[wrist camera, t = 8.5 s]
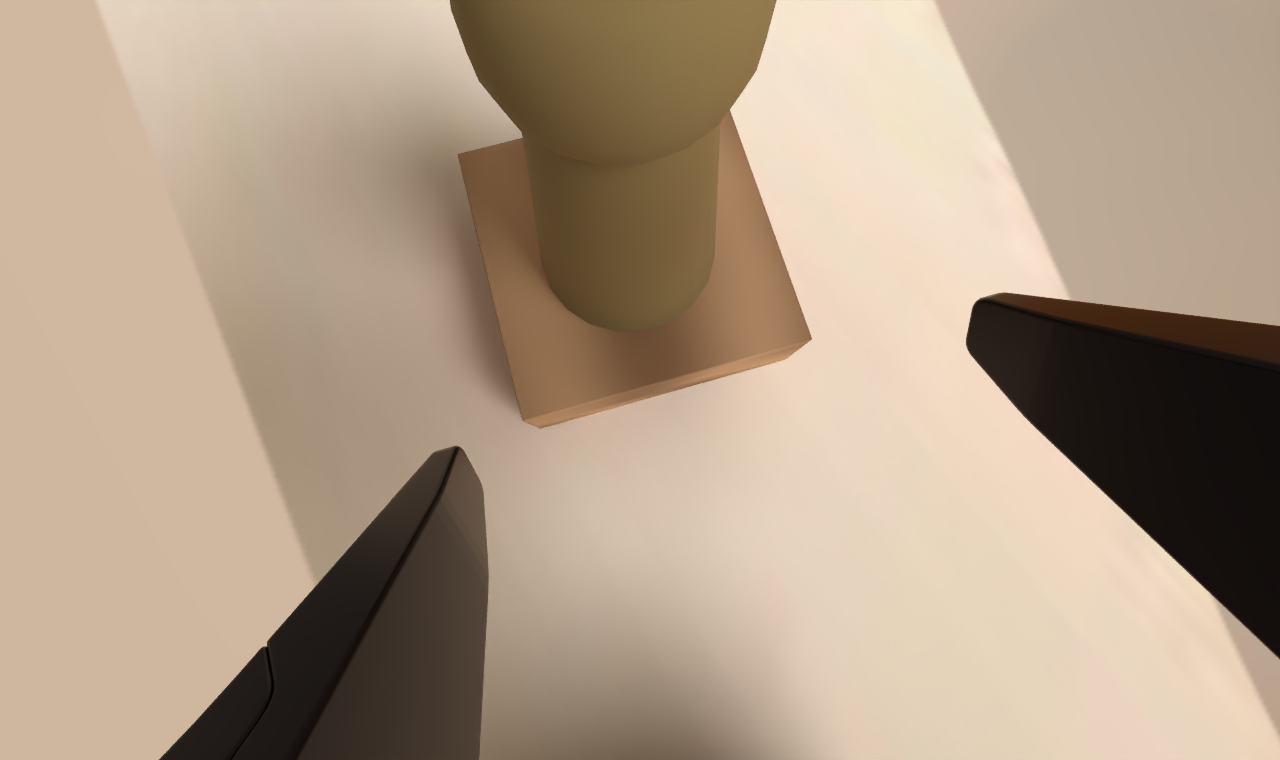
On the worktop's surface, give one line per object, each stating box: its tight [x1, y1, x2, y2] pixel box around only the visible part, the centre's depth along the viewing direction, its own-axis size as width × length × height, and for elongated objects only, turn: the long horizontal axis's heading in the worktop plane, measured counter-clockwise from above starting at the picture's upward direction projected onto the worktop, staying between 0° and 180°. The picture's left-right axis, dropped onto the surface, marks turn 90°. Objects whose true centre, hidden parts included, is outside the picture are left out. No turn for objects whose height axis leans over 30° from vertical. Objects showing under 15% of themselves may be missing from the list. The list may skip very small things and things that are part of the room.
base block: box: [458, 110, 812, 428], centre depth 19 cm, size 10×10×3 cm
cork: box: [450, 0, 776, 332], centre depth 12 cm, size 6×6×11 cm
